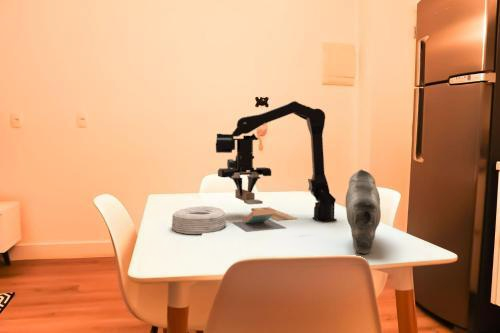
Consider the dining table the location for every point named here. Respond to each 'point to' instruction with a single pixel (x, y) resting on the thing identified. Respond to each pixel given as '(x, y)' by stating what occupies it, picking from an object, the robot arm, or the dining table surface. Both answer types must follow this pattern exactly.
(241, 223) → the mat
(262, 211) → the tile
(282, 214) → the board
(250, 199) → the brown wooden plank
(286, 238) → the dining table surface
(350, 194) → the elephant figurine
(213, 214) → the cable
